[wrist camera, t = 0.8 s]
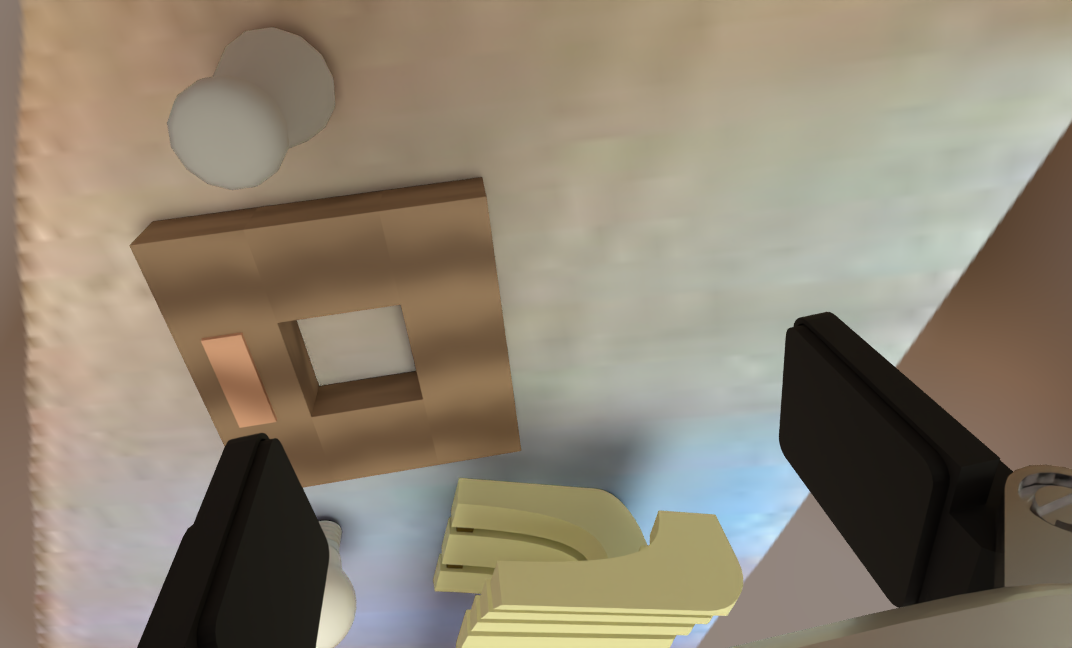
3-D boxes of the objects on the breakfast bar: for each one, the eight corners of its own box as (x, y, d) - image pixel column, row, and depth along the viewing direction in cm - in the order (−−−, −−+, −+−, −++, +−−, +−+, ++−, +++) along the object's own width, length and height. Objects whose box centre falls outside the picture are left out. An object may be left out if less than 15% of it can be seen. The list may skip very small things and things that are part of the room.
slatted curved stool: (570, 638, 67) (611, 842, 52) (418, 635, 63) (415, 855, 48) (668, 418, 52) (763, 612, 37) (479, 397, 49) (502, 604, 33)
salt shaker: (342, 136, 37) (305, 219, 26) (238, 128, 36) (154, 212, 25) (337, 27, 34) (294, 70, 23) (223, 16, 33) (122, 54, 22)
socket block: (152, 221, 38) (127, 247, 35) (482, 177, 40) (486, 198, 36) (259, 462, 49) (247, 499, 45) (515, 420, 50) (521, 453, 47)
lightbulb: (356, 554, 56) (342, 679, 46) (280, 546, 54) (249, 673, 44) (372, 504, 53) (360, 625, 43) (293, 493, 51) (262, 618, 42)
